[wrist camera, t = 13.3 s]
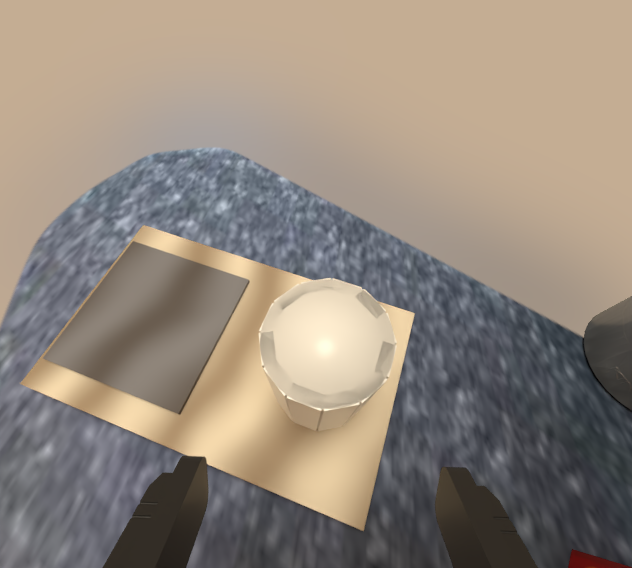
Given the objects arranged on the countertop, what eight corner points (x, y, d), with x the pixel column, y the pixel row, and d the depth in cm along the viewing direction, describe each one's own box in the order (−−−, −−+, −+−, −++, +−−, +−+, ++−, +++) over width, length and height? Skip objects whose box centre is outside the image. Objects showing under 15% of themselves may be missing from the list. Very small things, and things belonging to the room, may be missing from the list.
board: (35, 388, 25) (15, 382, 23) (149, 235, 32) (141, 222, 30) (359, 527, 21) (364, 532, 20) (409, 320, 28) (416, 311, 26)
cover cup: (325, 321, 26) (333, 258, 18) (384, 386, 24) (423, 346, 16) (257, 374, 24) (233, 329, 16) (315, 452, 22) (320, 442, 14)
